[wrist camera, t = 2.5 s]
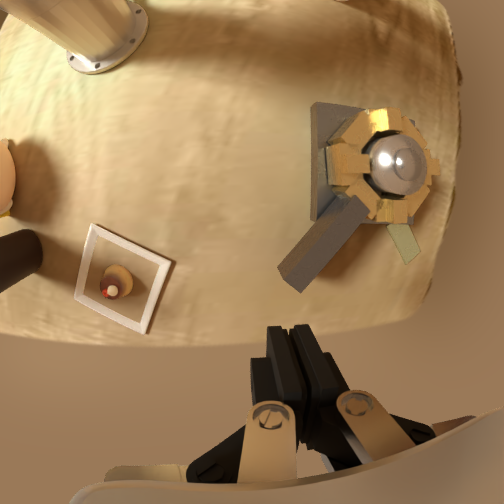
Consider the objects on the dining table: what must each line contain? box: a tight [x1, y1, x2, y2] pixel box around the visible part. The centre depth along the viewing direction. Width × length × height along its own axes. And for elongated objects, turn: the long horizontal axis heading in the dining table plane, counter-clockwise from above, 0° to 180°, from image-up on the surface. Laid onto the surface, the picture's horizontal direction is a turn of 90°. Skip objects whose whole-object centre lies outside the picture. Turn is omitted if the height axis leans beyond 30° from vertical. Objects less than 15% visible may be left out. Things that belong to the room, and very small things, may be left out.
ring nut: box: [277, 107, 440, 293], centre depth 27 cm, size 22×12×6 cm, turn 140°
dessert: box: [74, 223, 172, 335], centre depth 31 cm, size 12×12×5 cm
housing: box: [310, 102, 427, 265], centre depth 27 cm, size 20×18×10 cm
